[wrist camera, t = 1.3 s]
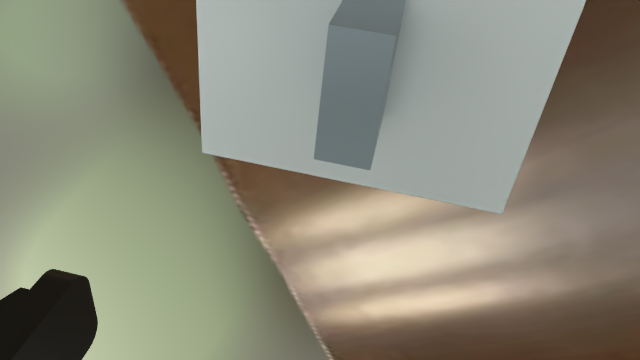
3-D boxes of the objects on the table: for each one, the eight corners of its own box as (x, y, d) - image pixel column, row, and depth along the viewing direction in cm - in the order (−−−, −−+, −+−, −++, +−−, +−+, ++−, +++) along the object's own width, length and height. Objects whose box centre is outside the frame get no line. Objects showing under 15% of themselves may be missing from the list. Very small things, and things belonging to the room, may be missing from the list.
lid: (608, -103, 22) (665, -69, 16) (499, 188, 31) (509, 280, 25) (212, -158, 24) (130, -145, 18) (217, 131, 32) (163, 205, 26)
